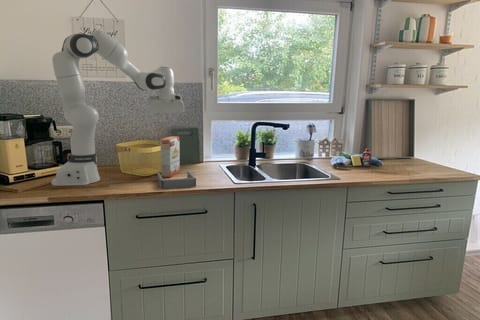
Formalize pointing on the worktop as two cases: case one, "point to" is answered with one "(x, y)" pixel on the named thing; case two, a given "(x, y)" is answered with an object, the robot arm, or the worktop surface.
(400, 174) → the worktop surface
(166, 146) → the cracker box
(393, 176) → the worktop surface
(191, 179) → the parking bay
